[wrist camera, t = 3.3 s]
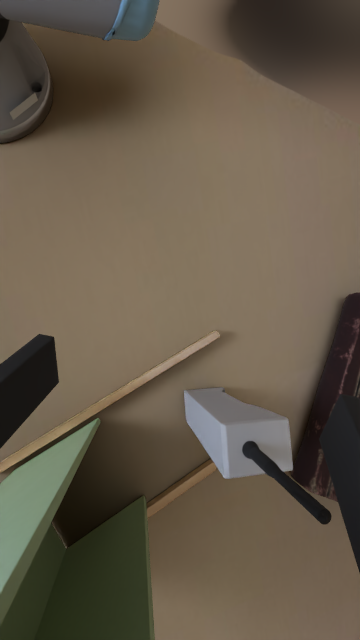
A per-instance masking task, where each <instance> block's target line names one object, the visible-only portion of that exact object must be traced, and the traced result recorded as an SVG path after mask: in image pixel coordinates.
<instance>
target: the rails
mask: <svg viewBox="0 0 360 640" xmlns="http://www.w3.org/2000/svg"><path fill="white" fill-rule="evenodd" d="M219 337H220V335H219V333H218V331H217V330H214V331H212V332H211V333H209V334H208V335H206V336H204V337H203V338H201V339H199V340H198V341H196V342H194V343H193V344H191V345H190V346H188V347H186V348H185V349H183V350H181V351H180V352H178V353H176V354H175V355H173V356H172V357H170V358H168V359H167V360H165V361H163V362H162V363H160V364H159V365H157V366H155V367H154V368H152V369H150V370H149V371H147V372H145V373H144V374H142V375H141V376H139V377H137V378H136V379H134V380H132V381H131V382H129V383H127V384H126V385H124V386H123V387H121V388H119V389H118V390H116V391H114V392H113V393H111V394H109V395H108V396H106V397H105V398H103V399H101V400H100V401H98V402H96V403H95V404H93V405H92V406H90V407H88V408H87V409H85V410H83V411H82V412H80V413H78V414H77V415H75V416H74V417H72V418H70V419H69V420H67V421H65V422H64V423H62V424H60V425H59V426H57V427H56V428H54V429H52V430H51V431H49V432H47V433H46V434H44V435H43V436H41V437H39V438H38V439H36V440H34V441H33V442H31V443H29V444H28V445H26V446H25V447H23V448H21V449H20V450H18V451H16V452H15V453H13V454H11V455H10V456H8V457H7V458H5V459H3V460H2V461H0V473H1V472H3V471H4V470H6V469H8V468H9V467H11V466H13V465H14V464H16V463H17V462H19V461H21V460H22V459H24V458H25V457H27V456H29V455H30V454H32V453H34V452H35V451H37V450H38V449H40V448H42V447H43V446H45V445H46V444H48V443H50V442H51V441H53V440H55V439H56V438H58V437H59V436H61V435H63V434H64V433H66V432H67V431H69V430H71V429H72V428H74V427H75V426H77V425H79V424H80V423H82V422H84V421H85V420H87V419H88V418H90V417H92V416H93V415H95V414H96V413H98V412H100V411H101V410H103V409H105V408H106V407H108V406H109V405H111V404H113V403H114V402H116V401H117V400H119V399H121V398H122V397H124V396H126V395H127V394H129V393H130V392H132V391H134V390H135V389H137V388H138V387H140V386H142V385H143V384H145V383H147V382H148V381H150V380H151V379H153V378H155V377H156V376H158V375H159V374H161V373H163V372H164V371H166V370H168V369H169V368H171V367H172V366H174V365H176V364H177V363H179V362H180V361H182V360H184V359H185V358H187V357H189V356H190V355H192V354H193V353H195V352H197V351H198V350H200V349H201V348H203V347H205V346H206V345H208V344H209V343H211V342H213V341H214V340H216V339H218V338H219ZM217 469H218V468H217V467H216V465H215V463H214V462H213V460H212V459H209V460H208V461H206V462H205V463H204V464H202V465H201V466H199V467H198V468H197V469H195V470H194V471H192V472H191V473H189V474H188V475H187V476H185V477H184V478H182V479H181V480H179V481H178V482H177V483H175V484H174V485H172V486H171V487H169V488H168V489H167V490H165V491H164V492H162V493H161V494H160V495H158V496H157V497H155V498H154V499H152V500H151V501H150V502H148V503H147V519H148V518H149V517H151V516H152V515H153V514H155V513H156V512H158V511H159V510H160V509H162V508H163V507H165V506H166V505H168V504H169V503H170V502H172V501H173V500H175V499H176V498H177V497H179V496H180V495H182V494H183V493H184V492H186V491H187V490H189V489H190V488H191V487H193V486H194V485H196V484H197V483H198V482H200V481H201V480H203V479H204V478H205V477H207V476H208V475H210V474H211V473H212V472H214V471H215V470H217Z"/></svg>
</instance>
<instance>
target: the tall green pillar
mask: <svg viewBox="0 0 360 640" xmlns="http://www.w3.org/2000/svg"><path fill="white" fill-rule="evenodd" d="M100 422H101V421H100V420H99V418H97V419H95V420H94V421H92V422H90V423H89V424H87V425H86V426H84V427H82V428H81V429H79V430H78V431H76V432H74V433H73V434H71V435H70V436H68V437H66V438H65V439H63V440H61V441H60V442H58V443H57V444H55V445H53V446H52V447H50V448H49V449H47V450H45V451H44V452H42V453H41V454H39V455H37V456H36V457H34V458H33V459H31V460H29V461H28V462H26V463H25V464H23V465H21V466H20V467H18V468H17V469H15V470H14V471H13V472H12V473H11V474H10V475H9V476H8V477H7V478H6V479H5V480H4V481H3V482H1V483H0V640H155V637H154V620H153V604H152V587H151V570H150V554H149V537H148V520H147V504H146V498H145V496H144V495H143V496H142V497H140V498H139V499H137V500H136V501H134V502H133V503H132V504H130V505H129V506H127V507H126V508H124V509H123V510H122V511H120V512H119V513H117V514H116V515H114V516H113V517H111V518H110V519H109V520H107V521H106V522H104V523H103V524H101V525H100V526H99V527H97V528H96V529H94V530H93V531H91V532H90V533H88V534H87V535H86V536H84V537H83V538H81V539H80V540H78V541H77V542H76V543H74V544H73V545H71V546H70V547H68V548H67V549H66V548H65V546H64V544H63V543H62V541H61V539H60V538H59V536H58V534H57V532H56V531H55V529H54V527H53V526H52V524H51V522H52V520H53V518H54V516H55V514H56V512H57V510H58V508H59V506H60V504H61V501H62V499H63V497H64V495H65V493H66V491H67V489H68V487H69V485H70V483H71V481H72V479H73V477H74V475H75V473H76V471H77V469H78V467H79V465H80V463H81V461H82V459H83V457H84V455H85V453H86V451H87V449H88V447H89V445H90V442H91V440H92V438H93V436H94V434H95V432H96V430H97V428H98V426H99V424H100Z"/></svg>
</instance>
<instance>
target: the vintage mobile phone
mask: <svg viewBox="0 0 360 640" xmlns="http://www.w3.org/2000/svg"><path fill="white" fill-rule="evenodd" d="M184 396H185V413H186V421H187V423H188V424H189V426H190V427H191V429H192V430H193V432H194V433H195V435H196V436H197V438H198V439H199V441H200V442H201V444H202V445H203V447H204V448H205V450H206V451H207V453H208V454H209V456H210V457H211V459H212V460H213V462H214V463H215V465H216V467H217V468H218V470H219V471H220V473H221V474H222V476H223V477H224V478H226V479H231V478H239V477H246V476H254V475H261V474H267V475H269V476H271V477H272V478H274V479H275V480H276V481H277V482H278V483H279V484H281V485H282V486H283V487H284V488H285V489H286V490H287V491H288V492H289V493H290V494H291V495H292V496H293V497H294V498H295V499H296V500H297V501H298V502H299V503H300V504H301V505H302V506H303V507H305V508H306V509H307V510H308V511H309V512H310V513H311V514H312V515H313V516H314V517H315V518H316V519H317V520H318V521H319V522H320V523H321V524H328V523H329V522H330V520H331V513H330V512H329V511H328V510H327V509H326V508H325V507H324V506H323V505H321V504H320V503H319V502H318V501H317V500H316V499H314V498H313V497H312V496H311V495H310V494H308V493H307V492H306V491H305V490H304V489H303V488H301V487H300V486H299V485H298V484H297V483H296V482H294V481H293V480H292V479H291V478H290V477H289V476H287V475H286V474H285V473H284V471H292V470H293V463H292V452H291V440H290V429H289V420H288V419H287V418H286V417H284V416H282V415H279V414H277V413H274V412H271V411H269V410H266V409H264V408H261V407H259V406H256V405H251V404H245V403H243V402H241V401H239V400H238V399H236V398H234V397H232V396H230V395H228V394H226V393H225V388H223V387H218V388H206V389H194V390H184Z"/></svg>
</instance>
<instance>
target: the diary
mask: <svg viewBox="0 0 360 640" xmlns="http://www.w3.org/2000/svg"><path fill="white" fill-rule="evenodd" d="M340 394H344V395H349V396H354V397H359V398H360V293H353V294H349V295H348V296H347V297H346V299H345V302H344V305H343V309H342V313H341V316H340V320H339V323H338V327H337V330H336V334H335V338H334V341H333V344H332V347H331V350H330V353H329V356H328V359H327V362H326V365H325V368H324V371H323V374H322V377H321V380H320V383H319V386H318V390H317V393H316V397H315V401H314V404H313V408H312V411H311V415H310V419H309V422H308V426H307V429H306V432H305V435H304V438H303V441H302V444H301V447H300V449H299V452H298V455H297V458H296V461H295V464H294V467H293V470H292V473H291V476H292V477H293V478H294V479H295V480H296V481H297V482H298V483H299V484H300V485H302V486H303V487H304V488H306V489H307V490H309V491H310V492H312V493H315V494H318V495H321V496H324V497H326V498H329V499H332V500H335V501H337V502H338V500H337V496H336V493H335V490H334V486H333V483H332V480H331V477H330V473H329V470H328V467H327V463H326V460H325V457H324V454H323V450H322V447H321V444H320V440H319V438H320V436H321V434H322V432H323V429H324V427H325V425H326V423H327V421H328V419H329V417H330V415H331V412H332V410H333V408H334V406H335V404H336V402H337V400H338V398H339V395H340Z"/></svg>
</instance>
